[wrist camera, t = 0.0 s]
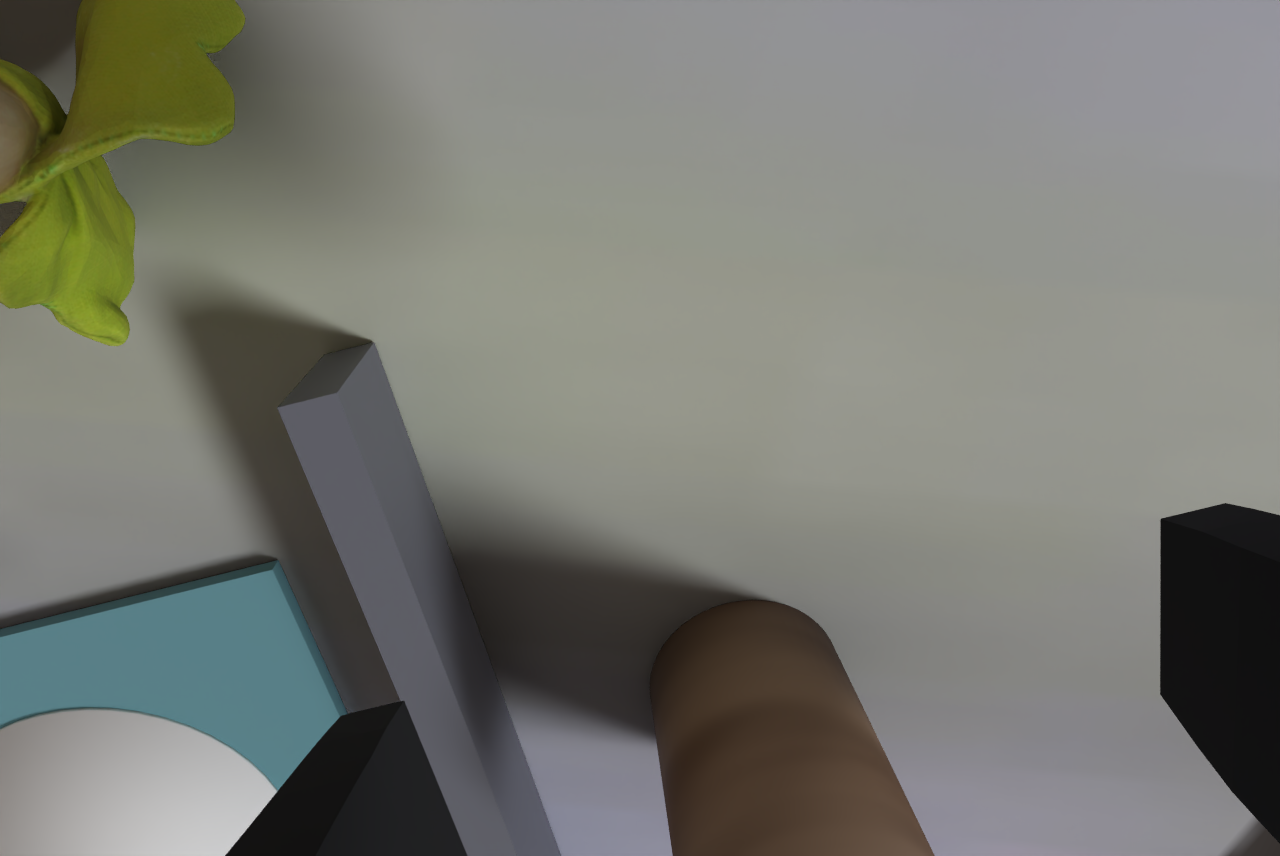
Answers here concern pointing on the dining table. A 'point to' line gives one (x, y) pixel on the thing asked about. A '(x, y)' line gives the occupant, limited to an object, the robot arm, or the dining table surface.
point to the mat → (158, 718)
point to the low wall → (414, 599)
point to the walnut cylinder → (771, 743)
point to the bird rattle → (103, 150)
